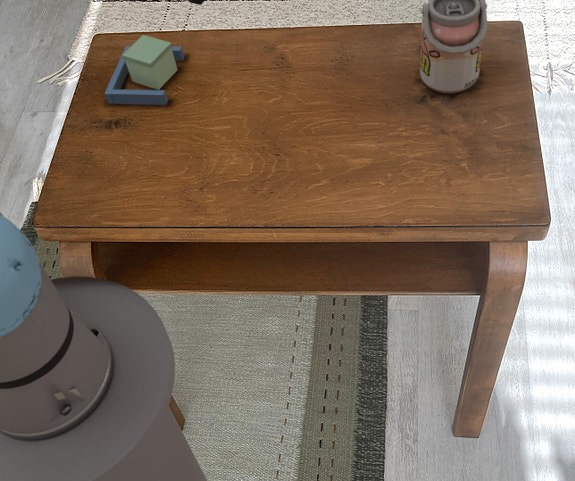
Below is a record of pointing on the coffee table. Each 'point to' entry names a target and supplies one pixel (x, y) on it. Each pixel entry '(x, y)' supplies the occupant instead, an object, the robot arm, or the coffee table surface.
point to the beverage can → (452, 43)
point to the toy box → (150, 62)
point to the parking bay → (135, 96)
